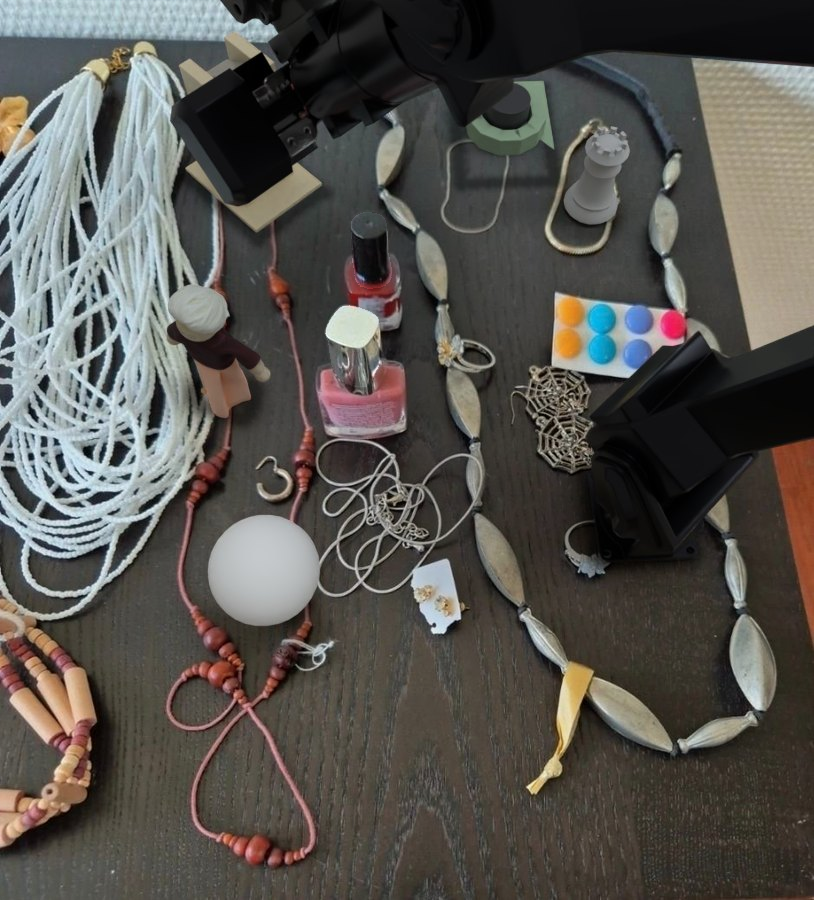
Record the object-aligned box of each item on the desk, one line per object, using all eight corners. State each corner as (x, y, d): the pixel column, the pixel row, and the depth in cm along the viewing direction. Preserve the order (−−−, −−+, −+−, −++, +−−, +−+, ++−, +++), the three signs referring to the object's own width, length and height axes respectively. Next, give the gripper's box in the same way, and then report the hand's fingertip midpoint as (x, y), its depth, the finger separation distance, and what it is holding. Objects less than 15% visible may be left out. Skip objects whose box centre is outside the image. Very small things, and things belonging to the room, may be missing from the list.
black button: (530, 130, 65) (533, 113, 63) (486, 131, 65) (488, 114, 63) (525, 98, 67) (528, 81, 65) (483, 99, 66) (485, 82, 65)
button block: (557, 182, 66) (562, 159, 63) (461, 185, 65) (463, 162, 63) (542, 87, 70) (547, 63, 68) (452, 89, 70) (454, 65, 68)
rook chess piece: (570, 241, 63) (592, 167, 56) (551, 199, 65) (570, 122, 57) (622, 229, 64) (651, 155, 56) (602, 188, 65) (627, 111, 58)
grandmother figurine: (173, 411, 57) (115, 310, 45) (192, 366, 58) (140, 258, 47) (275, 435, 56) (243, 338, 44) (291, 388, 57) (264, 284, 46)
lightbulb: (337, 562, 52) (321, 504, 42) (324, 655, 50) (304, 618, 39) (245, 553, 52) (209, 493, 42) (228, 645, 50) (184, 606, 40)
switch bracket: (323, 193, 65) (307, 71, 54) (258, 240, 63) (228, 123, 52) (253, 134, 68) (224, 7, 57) (188, 178, 66) (146, 55, 55)
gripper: (443, -209, 39) (316, -82, 52) (135, -37, 33) (81, 56, 47) (537, 15, 44) (399, 79, 57) (282, 197, 38) (196, 221, 52)
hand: (278, 105), depth 53 cm, fingers closed on switch lever, 3 cm apart
